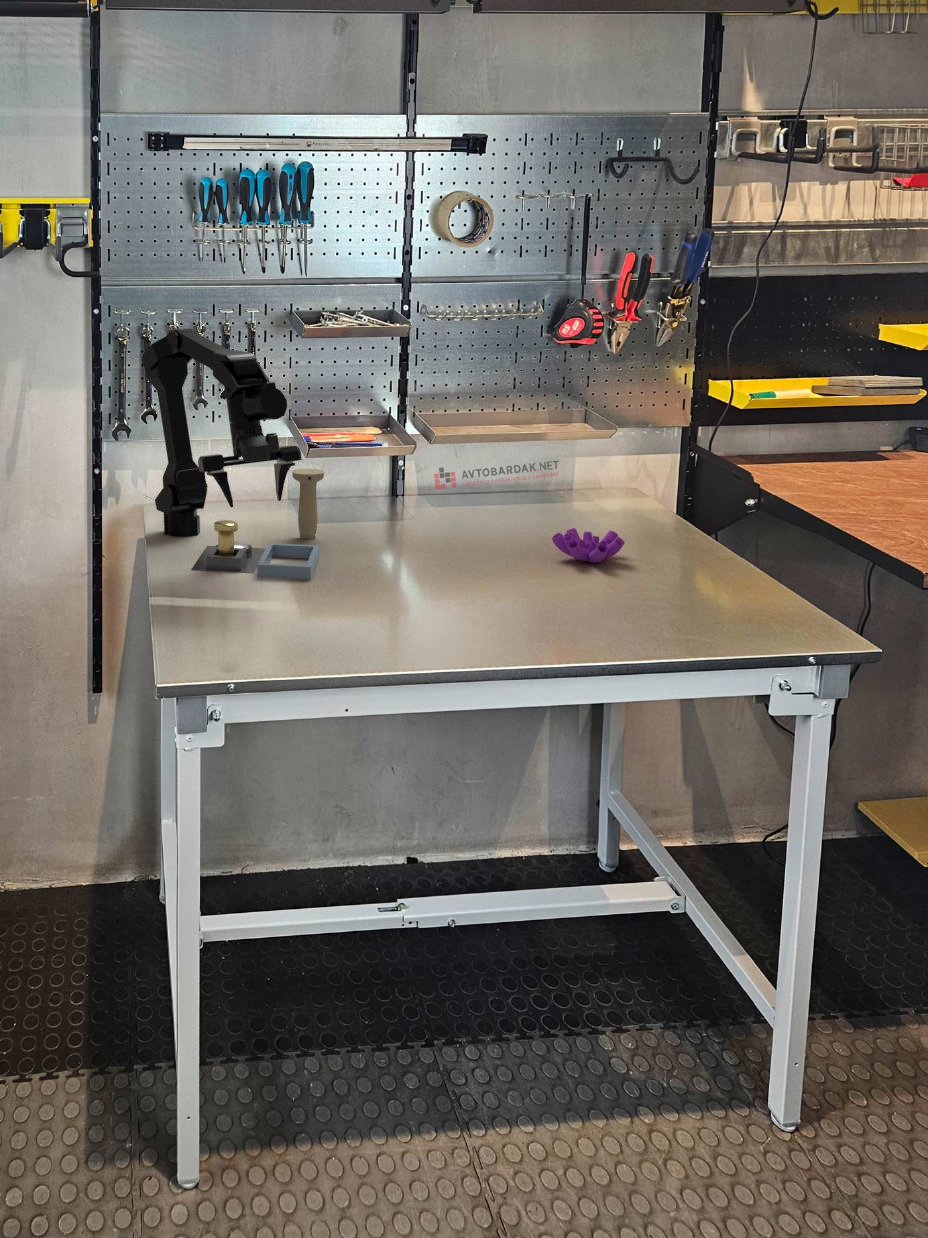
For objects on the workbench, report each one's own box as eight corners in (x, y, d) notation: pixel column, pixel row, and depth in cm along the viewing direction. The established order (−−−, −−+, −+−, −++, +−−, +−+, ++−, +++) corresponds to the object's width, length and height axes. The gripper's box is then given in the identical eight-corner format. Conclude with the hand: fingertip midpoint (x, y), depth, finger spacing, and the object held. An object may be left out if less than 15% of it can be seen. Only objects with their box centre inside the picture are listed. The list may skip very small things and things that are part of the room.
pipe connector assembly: (621, 581, 269) (625, 553, 261) (548, 575, 270) (550, 548, 262) (623, 537, 275) (627, 509, 267) (552, 532, 276) (554, 504, 268)
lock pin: (213, 567, 250) (212, 526, 247) (217, 560, 254) (216, 519, 251) (236, 568, 250) (235, 527, 247) (240, 561, 254) (239, 520, 252)
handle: (324, 544, 272) (325, 474, 266) (293, 545, 270) (293, 474, 265) (321, 538, 276) (322, 468, 271) (290, 538, 274) (291, 468, 269)
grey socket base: (190, 576, 248) (190, 557, 247) (207, 551, 263) (206, 534, 262) (253, 579, 248) (253, 561, 247) (266, 554, 263) (266, 537, 262)
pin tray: (257, 582, 247) (257, 564, 245) (268, 560, 260) (268, 543, 258) (310, 585, 247) (310, 567, 245) (319, 562, 260) (319, 545, 259)
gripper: (202, 427, 235) (214, 513, 238) (303, 416, 241) (313, 500, 244) (192, 427, 245) (204, 509, 248) (289, 416, 252) (299, 496, 255)
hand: (255, 504), depth 249 cm, fingers open, 9 cm apart
